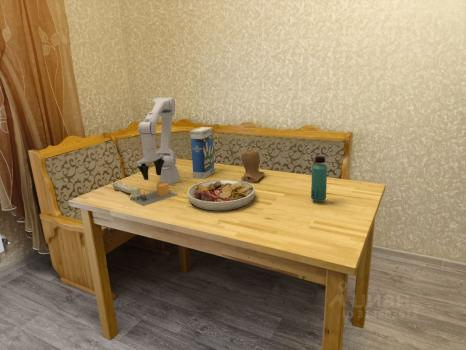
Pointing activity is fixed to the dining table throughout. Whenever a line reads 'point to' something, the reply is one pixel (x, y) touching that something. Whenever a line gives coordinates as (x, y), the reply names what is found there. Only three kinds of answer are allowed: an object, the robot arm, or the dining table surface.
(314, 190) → the beverage bottle
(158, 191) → the orange cap
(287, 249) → the dining table surface
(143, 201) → the charcoal board
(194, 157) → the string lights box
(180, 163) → the dining table surface
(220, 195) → the bowl
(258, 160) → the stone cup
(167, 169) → the robot arm
